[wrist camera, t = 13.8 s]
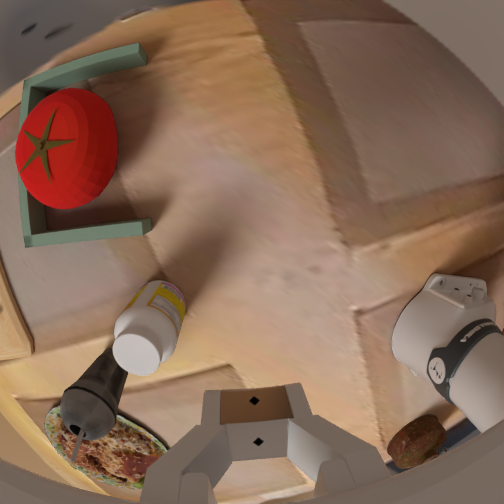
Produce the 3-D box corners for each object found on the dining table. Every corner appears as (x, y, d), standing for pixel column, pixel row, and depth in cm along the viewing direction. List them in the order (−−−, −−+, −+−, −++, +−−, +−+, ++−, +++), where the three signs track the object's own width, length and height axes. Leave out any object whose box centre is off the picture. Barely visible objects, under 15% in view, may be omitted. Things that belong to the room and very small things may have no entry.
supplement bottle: (141, 326, 37) (111, 381, 24) (134, 279, 35) (94, 322, 23) (189, 325, 37) (175, 385, 25) (184, 277, 36) (164, 323, 23)
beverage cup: (87, 341, 36) (21, 429, 17) (129, 337, 37) (73, 439, 17) (104, 380, 38) (57, 474, 19) (145, 379, 38) (109, 484, 19)
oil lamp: (376, 450, 52) (401, 589, 15) (399, 415, 46) (443, 581, 9) (423, 440, 51) (458, 564, 14) (450, 404, 46) (504, 546, 9)
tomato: (41, 123, 29) (-4, 110, 19) (119, 85, 30) (86, 55, 19) (58, 219, 32) (12, 231, 22) (140, 189, 33) (107, 190, 23)
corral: (147, 55, 29) (139, 42, 25) (151, 230, 34) (142, 235, 30) (38, 87, 28) (24, 80, 24) (41, 241, 33) (25, 247, 29)
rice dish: (162, 405, 41) (156, 427, 36) (185, 490, 46) (184, 508, 41) (31, 385, 39) (18, 399, 34) (75, 471, 44) (69, 486, 38)
